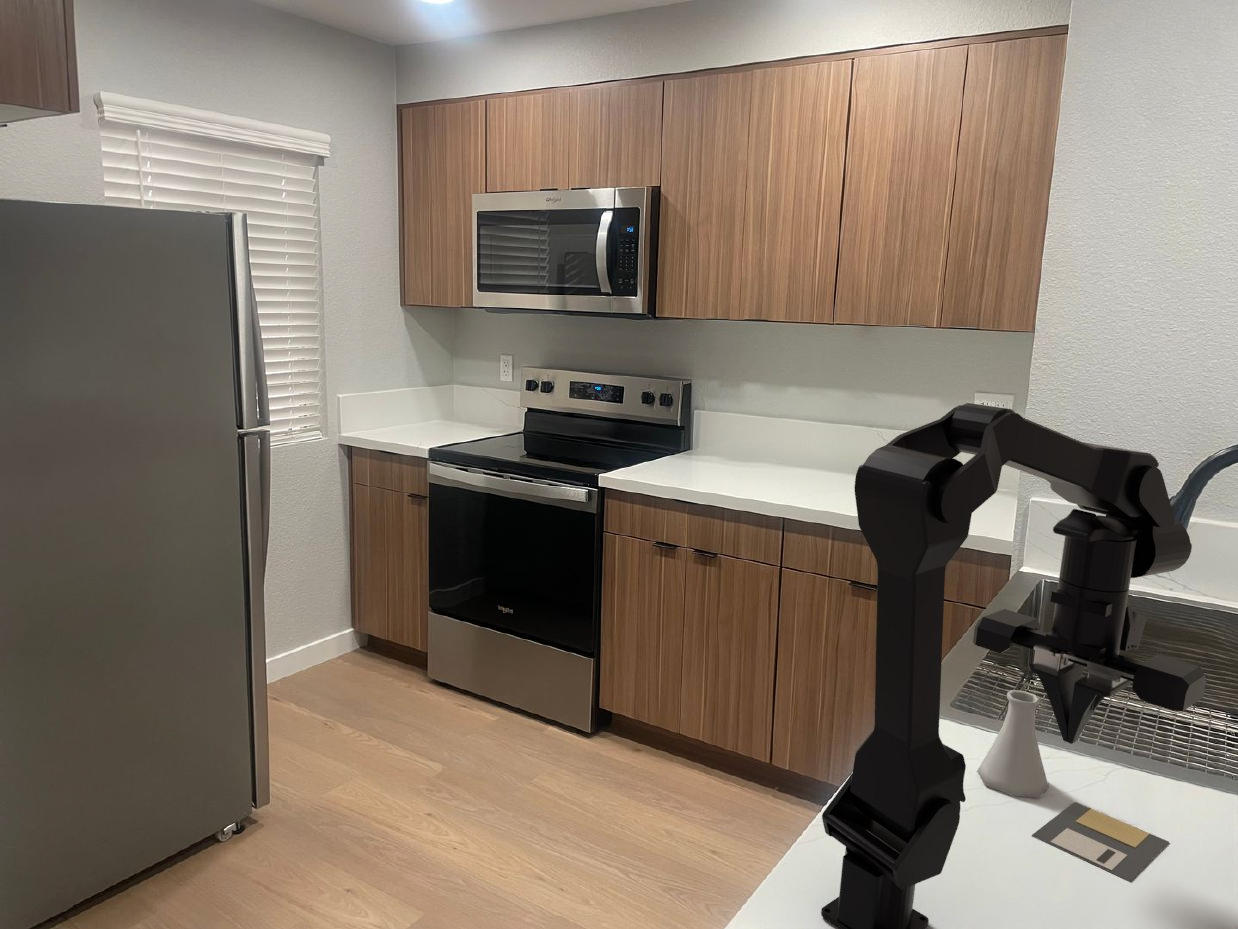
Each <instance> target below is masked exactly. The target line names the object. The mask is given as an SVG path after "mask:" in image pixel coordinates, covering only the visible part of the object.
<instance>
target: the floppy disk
mask: <svg viewBox="0 0 1238 929" xmlns="http://www.w3.org/2000/svg"><path fill="white" fill-rule="evenodd" d="M1031 836H1032V837H1034V838H1036V839H1038V840H1040V841H1043V842H1045V843H1046V844H1048V845H1051V846H1053V847H1055V848H1057V849H1060V850H1061V851H1063V852H1066V853H1067V854H1070V855H1073V857H1074V856H1075V857H1076V858H1079V859H1081V860H1083V861H1085V862H1087V863H1090V864H1091V865H1094V866H1095V867H1096V866H1097V867H1098V868H1100V869H1102V870H1105V871H1106V872H1109V873H1111V874H1113V875H1115V876H1117V877H1119V878H1122V879H1123V880H1126V881H1128V882H1131V881H1133V879H1134V878H1135V877H1137V875H1139V874H1140V872H1141V871H1142V870H1144V868H1145V867H1147V865H1149V863H1151V861H1153V859H1154V858H1155V857H1157V855H1158V854H1159V853H1161V851H1162V850H1163V849H1164V848H1165V847H1166V846H1167V845H1168V844H1169V843H1170V841H1169V840H1167V839H1164V838H1161V837H1159V836H1157V835H1155V834H1151V833H1150V832H1147V831H1145V830H1143V829H1140V828H1138V827H1135V826H1133V825H1131V824H1128V823H1126V822H1124V821H1122V820H1119V819H1117V818H1115V817H1112V816H1109V815H1108V814H1105V813H1103V812H1100V811H1098V810H1097V809H1093V808H1091V807H1088V806H1086V805H1083V804H1082V803H1079V802H1077V801H1073V802H1072V803H1071V804H1070V805H1069V806H1067V807H1065V809H1063V810H1062V811H1060V812H1059V813H1058V814H1057V815H1056V816H1054V817H1053V818H1052V819H1051V820H1049V821H1048V822H1047V823H1045V824H1044V825H1043V826H1041V827H1040V828H1039V829H1037V831H1035V832H1034V833H1033V834H1032V835H1031Z"/></svg>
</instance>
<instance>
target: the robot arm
mask: <svg viewBox="0 0 1238 929" xmlns="http://www.w3.org/2000/svg"><path fill="white" fill-rule="evenodd" d="M961 453H964V454H970V455H973V457H971V458H970V459H969V460H968V461H967V462H965V463H964V464H963V462H962V461H960V460H958V459H956V457H957V456H958V455H960V454H961ZM1159 465H1160V464H1159V462H1158V460H1157V458H1156V457H1155V456H1154V455H1153V454H1151V453H1148V452H1145V451H1144V452H1143V451H1139V450H1138V451H1137V450H1134V449H1133V450H1131V449H1125V448H1121V447H1120V448H1119V447H1113V446H1107V445H1102V444H1095V443H1092V442H1090V443H1089V442H1082V441H1080V440H1078V439H1076V438H1073V437H1070V436H1068V435H1066V434H1064V433H1061V432H1059V431H1056V430H1054V429H1052V428H1049V427H1047V426H1044V425H1041V424H1039V423H1037V422H1035V421H1033V420H1030V419H1027V418H1025V417H1023V415H1021V414H1019V413H1016V411H1015V410H1014V409H1012V408H1005V407H1000V406H999V407H998V406H991V405H984V404H980V403H979V404H977V403H970V402H966V403H964V404H961V405H960V404H959V405H956V406H954V407H953V408H952V409H951V410H949V411H948V412H947V413H946V414H945V415H943V416H942V417H941V418H939V419H936V420H933V421H931V422H929V423H925V424H924V425H921V426H918V427H915V428H914V429H910V430H908V431H906V432H903V433H900V434H899V435H896V437H894V438H893V439H891V440H890V441H889V442H888V443H886V444H885V445H883V446H881V447H878V448H876V449H875V450H874V451H872V452H871V453H870V454H869V455H868V457H867V458H866V460H865V461H864V462H863V463H862V464H860V465H859V466H858V468H857V471H856V474H855V478H854V497H855V505H856V511H857V512H856V514H857V520H858V526H859V527H858V528H859V529H860V531H861V533H862V535H863V537H864V538H865V541H866V543H867V544H868V545H867V546H868V547H869V549H870V551H871V553H872V555H873V557H874V560H875V562H876V564H877V579H876V580H877V582H876V583H877V584H876V585H877V586H876V588H877V589H876V631H875V632H876V633H875V634H876V635H875V675H874V676H875V677H874V678H875V682H874V688H875V689H874V722H873V730H872V731H871V732H870V733H869V735H868V736H867V737H866V738H865V740H864V741H863V742H862V743H861V744H860V746H859V747H858V748H857V750H856V751H855V754H854V761H853V767H852V773H851V774H850V775H849V777H848V778H847V779H846V781H845V782H844V784H842V786H841V788H840V789H839V790H838V792H837V794H835V796H834V798H833V799H832V800H831V801H830V803H829V804H828V805H827V807H826V808H825V809H824V811H823V812H822V814H821V820H822V823H823V828H824V833H825V834H826V835H828V837H832V838H833V839H835V840H836V841H838V842H839V843H840V844H842V845H843V846H844V847H845V852H844V855H843V857H842V863H841V864H842V865H841V874H840V885H839V896H837V897H836V898H835V899H833V900H832V901H830V902H829V903H828V904H826V905H824V906H823V907H821V911H820V915H821V916H822V917H823V918H824V919H825V920H827V921H829V923H831V924H833V925H834V926H836V927H838V928H840V929H926V928H927V927H928V926H929V923H930V922H929V917H927V916H926V915H925V914H923V913H921V912H920V911H918V910H916V909H914V908H913V907H914V906H913V905H914V900H915V891H916V885H917V884H918V883H922V882H923V881H927V880H929V879H932V878H934V877H937V876H938V875H940V874H941V873H942V872H943V869H944V866H945V864H946V861H947V858H948V856H949V852H950V850H951V847H952V845H953V841H954V840H955V836H956V833H957V830H958V828H959V824H960V821H961V820H960V818H961V815H960V814H961V802H962V803H965V801H966V800H967V799H966V795H965V792H964V791H965V790H964V781H965V773H966V768H967V767H966V765H967V764H966V761H965V757H964V754H962V753H961V752H959V751H957V750H955V749H953V748H951V747H950V746H948V745H946V744H944V743H943V741H942V740H941V737H940V713H941V712H940V710H941V708H940V707H941V689H942V688H941V687H942V686H941V684H942V683H941V682H942V658H943V657H942V656H943V636H944V634H943V632H944V613H945V612H944V608H945V606H944V604H945V585H946V584H945V582H946V581H945V580H946V570H947V568H946V567H947V565H948V564H949V562H950V561H951V560H952V559H953V557H954V556H955V554H956V553H957V552H958V551H959V550H960V548H961V546H962V545H963V544H964V542H966V540H967V538H968V537H969V533H970V528H971V527H970V526H971V522H972V514H973V513H974V512H975V511H976V510H977V509H979V508H980V507H981V506H982V505H983V504H985V502H987V501H988V500H989V499H990V498H991V497H992V496H994V494H996V492H997V491H998V489H999V488H998V487H999V483H1000V478H1001V474H1002V468H1003V466H1007V467H1010V468H1013V469H1016V470H1018V471H1020V472H1023V473H1027V474H1028V475H1032V476H1035V477H1038V478H1041V479H1043V480H1045V481H1047V483H1049V484H1050V487H1049V488H1050V489H1051V491H1053V492H1054V493H1055V494H1057V495H1058V496H1059V497H1061V498H1063V499H1064V500H1065V501H1067V502H1068V503H1070V504H1075V505H1076V506H1078V508H1079V509H1076V508H1073V509H1072V510H1071V511H1070V513H1069V514H1068V515H1066V517H1064V518H1061V519H1060V520H1058V521H1057V523H1056V524H1055V525H1054V526H1053V527H1052V532H1053V533H1054V534H1056V535H1060V536H1064V541H1063V542H1064V543H1063V549H1062V555H1061V556H1062V557H1061V561H1060V571H1059V575H1058V576H1059V577H1058V584H1057V588H1056V589H1054V590H1052V591H1051V596H1050V603H1054V604H1055V605H1054V612H1053V618H1052V626H1051V631H1049V632H1045V631H1042V630H1040V629H1041V624H1040V622H1039V620H1038V618H1036V617H1033V616H1029V615H1027V614H1023V613H1019V612H1016V611H1012V610H1009V609H1006V608H1004V609H1001V610H998V611H995V612H993V613H990V614H987V615H985V616H982V617H981V618H980V619H978V620H977V622H976V624H975V625H974V628H973V629H974V630H973V638H972V643H973V645H974V646H976V647H981V648H982V649H987V650H989V651H992V652H995V653H997V654H1003V653H1004V652H1006V651H1007V650H1010V649H1011V648H1013V644H1015V645H1017V646H1020V647H1024V648H1027V649H1029V650H1030V649H1031V650H1033V651H1034V658H1033V663H1031V664H1029V667H1028V671H1029V672H1030V673H1033V674H1036V676H1038V679H1039V680H1040V683H1041V685H1042V688H1043V690H1044V692H1045V694H1046V695H1047V698H1048V700H1049V703H1050V705H1051V708H1052V711H1053V714H1054V717H1055V720H1056V722H1057V726H1058V729H1059V733H1060V735H1061V737H1062V740H1063V741H1064V742H1066V743H1068V744H1070V745H1073V744H1075V743H1077V741H1078V740H1079V738H1080V736H1081V734H1082V733H1083V731H1084V729H1085V727H1086V726H1087V724H1088V723H1089V721H1090V720H1091V717H1092V716H1093V715H1094V713H1095V711H1096V710H1097V708H1098V706H1099V705H1100V704H1101V703H1102V702H1103V700H1104V699H1105V698H1110V697H1112V696H1114V695H1115V694H1117V693H1119V692H1121V691H1122V690H1124V689H1126V688H1127V687H1129V686H1130V685H1131V683H1132V686H1131V689H1132V690H1133V692H1134V693H1135V694H1136V696H1137V697H1138V699H1139V700H1140V701H1142V702H1146V703H1148V704H1152V705H1154V706H1157V707H1161V708H1163V709H1167V710H1170V711H1173V712H1184V711H1186V710H1187V709H1189V708H1190V707H1192V706H1193V705H1194V704H1196V703H1197V702H1198V701H1200V700H1201V699H1202V698H1204V694H1205V689H1206V682H1207V677H1206V674H1205V673H1204V671H1203V669H1202V667H1201V666H1200V665H1197V664H1193V663H1190V662H1186V661H1184V660H1180V659H1177V658H1173V657H1170V656H1166V655H1163V654H1159V653H1158V654H1156V655H1154V656H1152V657H1150V658H1149V659H1147V660H1145V661H1141V660H1138V659H1134V658H1131V657H1128V656H1124V655H1121V654H1120V650H1121V651H1124V652H1128V651H1129V650H1131V649H1135V650H1136V649H1137V650H1138V649H1139V647H1140V644H1141V640H1142V636H1143V633H1144V630H1145V626H1146V622H1147V620H1148V619H1147V617H1146V616H1143V615H1142V614H1139V613H1138V612H1136V611H1132V606H1133V594H1129V592H1130V584H1131V579H1135V578H1136V579H1137V578H1142V577H1147V576H1154V575H1157V574H1159V575H1160V574H1163V573H1169V572H1174V571H1177V570H1178V569H1180V568H1181V567H1183V566H1184V565H1185V564H1186V562H1187V561H1188V560H1189V558H1190V557H1191V553H1192V548H1193V547H1192V546H1193V545H1192V543H1191V539H1190V535H1189V533H1188V531H1187V529H1186V528H1185V526H1184V525H1183V523H1181V522H1180V521H1179V520H1178V519H1177V518H1175V513H1176V506H1175V505H1173V504H1171V501H1170V498H1169V497H1170V496H1169V494H1168V489H1167V486H1166V483H1165V479H1164V476H1163V473H1162V471H1161V469H1160V468H1158V467H1159ZM1096 513H1097V514H1100V515H1097V514H1096ZM1085 668H1086V675H1085V676H1084V677H1082V678H1081V676H1082V674H1083V671H1084V669H1085Z"/></svg>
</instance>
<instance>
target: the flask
mask: <svg viewBox="0 0 1238 929" xmlns="http://www.w3.org/2000/svg"><path fill="white" fill-rule="evenodd" d="M1006 697H1007V698H1006V699H1007V700H1008V706H1007V707H1008V708H1007V712H1006V715H1005V718H1004V721H1003V725H1002V727H1001V728H1000V730H999V733H998V734H997V736H996V737H995V739H994V742H993V743H992V745H991V747H990V748H989V749H988V752H986V755H985V756H984V758H983V760H982V761H981V763H980V765H979V767H978V768H977V770H976V772H977V774H978V775H979V778H980V779H981V781H982V783H983V784H984V785H985V786H987V787H990V788H992V789H995V790H997V791H1000V792H1003V793H1005V794H1008V795H1011V796H1015V797H1016V796H1018V797H1027V798H1042V796H1043V795H1044V793H1045V792H1046V791H1047V790H1048V789H1049V785H1048V778H1047V776H1046V772H1045V768H1044V764H1043V761H1042V756H1041V751H1040V748H1039V744H1038V739H1037V735H1036V721H1035V720H1036V719H1035V717H1036V716H1035V713H1036V707H1037V706H1039V703H1040V698H1039V697H1038V696H1037V695H1036V694H1034V693H1031V692H1027V691H1025V690H1014V689H1013V690H1012V689H1011V690H1009V691H1008V692H1007V693H1006Z"/></svg>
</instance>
